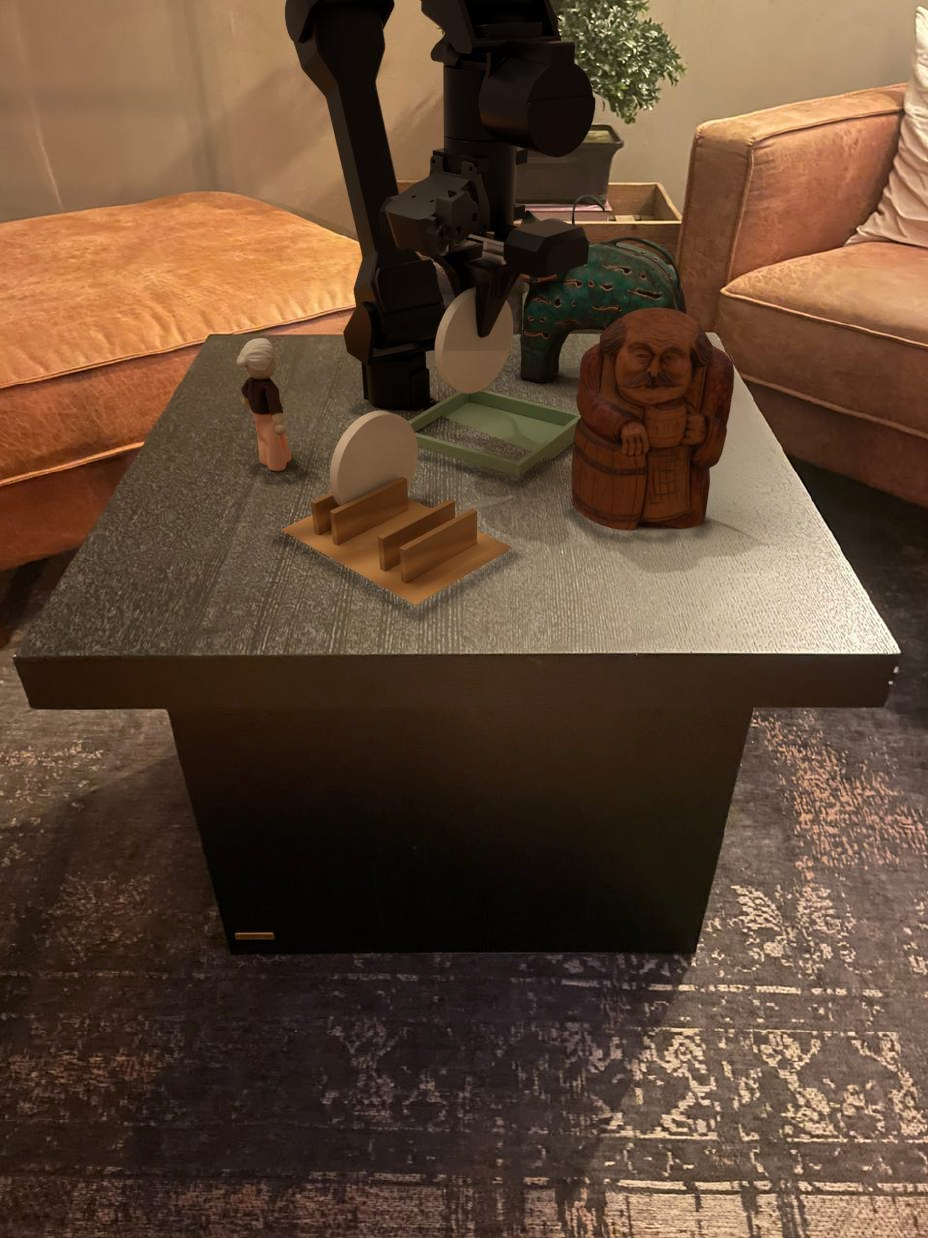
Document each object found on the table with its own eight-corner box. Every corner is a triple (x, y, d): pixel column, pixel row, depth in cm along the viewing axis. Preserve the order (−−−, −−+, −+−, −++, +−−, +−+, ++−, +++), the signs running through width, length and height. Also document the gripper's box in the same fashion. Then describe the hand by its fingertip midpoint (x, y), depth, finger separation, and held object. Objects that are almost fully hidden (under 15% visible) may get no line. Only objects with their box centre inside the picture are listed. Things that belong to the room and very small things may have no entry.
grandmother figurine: (316, 476, 86) (301, 343, 79) (283, 490, 84) (265, 355, 76) (266, 451, 90) (247, 323, 83) (233, 464, 88) (211, 333, 81)
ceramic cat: (502, 378, 105) (506, 190, 94) (529, 361, 110) (536, 178, 98) (665, 416, 97) (693, 213, 85) (687, 395, 101) (716, 200, 90)
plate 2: (437, 405, 81) (430, 304, 75) (506, 370, 86) (504, 273, 80) (445, 408, 80) (439, 307, 75) (514, 373, 85) (513, 275, 79)
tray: (395, 448, 91) (394, 429, 90) (467, 403, 100) (467, 385, 98) (519, 486, 84) (519, 465, 83) (584, 434, 93) (586, 414, 92)
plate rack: (282, 539, 77) (276, 497, 75) (378, 493, 83) (376, 453, 81) (415, 615, 68) (413, 570, 66) (512, 557, 75) (513, 514, 72)
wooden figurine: (572, 539, 77) (589, 325, 66) (567, 502, 82) (582, 298, 71) (714, 540, 77) (754, 326, 66) (699, 503, 82) (734, 298, 71)
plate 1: (318, 514, 74) (344, 404, 71) (394, 515, 81) (421, 415, 78) (326, 518, 73) (353, 408, 71) (402, 519, 80) (429, 419, 78)
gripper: (322, 132, 71) (337, 330, 81) (499, 168, 61) (493, 391, 70) (425, 116, 78) (428, 301, 87) (601, 145, 67) (584, 353, 77)
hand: (477, 334), depth 80 cm, fingers closed on plate 2, 1 cm apart
